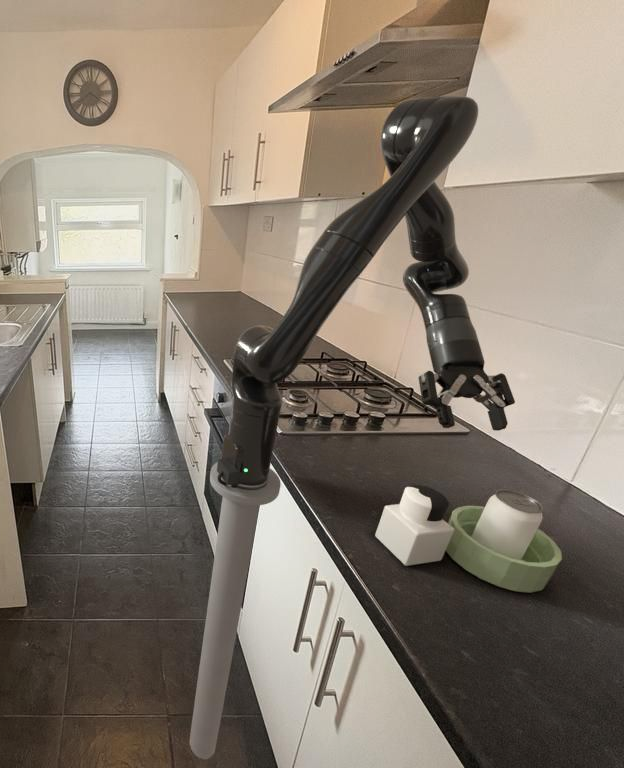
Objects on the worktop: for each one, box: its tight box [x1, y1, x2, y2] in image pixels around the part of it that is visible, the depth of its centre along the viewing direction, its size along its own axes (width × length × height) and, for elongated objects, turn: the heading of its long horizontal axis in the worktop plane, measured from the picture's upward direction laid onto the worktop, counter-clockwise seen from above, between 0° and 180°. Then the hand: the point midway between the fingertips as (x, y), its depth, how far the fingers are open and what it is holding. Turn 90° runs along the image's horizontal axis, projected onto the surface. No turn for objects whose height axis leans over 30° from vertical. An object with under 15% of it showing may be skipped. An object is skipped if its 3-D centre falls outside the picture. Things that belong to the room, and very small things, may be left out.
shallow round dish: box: [445, 505, 563, 594], centre depth 69 cm, size 14×14×6 cm
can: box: [471, 489, 544, 560], centre depth 68 cm, size 6×6×12 cm
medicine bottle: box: [374, 484, 454, 567], centre depth 70 cm, size 7×7×12 cm
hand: (474, 428), depth 74 cm, fingers open, 8 cm apart
